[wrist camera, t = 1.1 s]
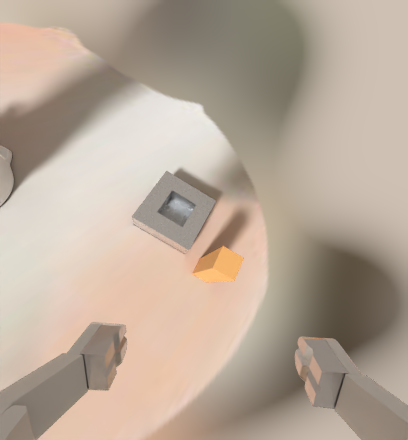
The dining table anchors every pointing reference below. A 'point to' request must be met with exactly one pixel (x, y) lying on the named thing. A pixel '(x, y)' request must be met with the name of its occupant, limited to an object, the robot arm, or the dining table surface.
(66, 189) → the dining table surface
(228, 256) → the rectangular peg
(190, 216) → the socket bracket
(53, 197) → the dining table surface
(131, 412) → the dining table surface
